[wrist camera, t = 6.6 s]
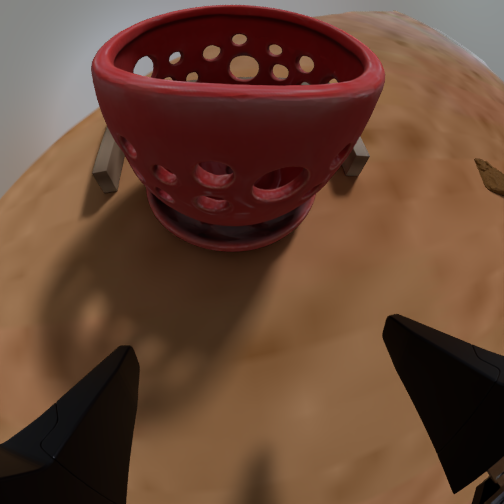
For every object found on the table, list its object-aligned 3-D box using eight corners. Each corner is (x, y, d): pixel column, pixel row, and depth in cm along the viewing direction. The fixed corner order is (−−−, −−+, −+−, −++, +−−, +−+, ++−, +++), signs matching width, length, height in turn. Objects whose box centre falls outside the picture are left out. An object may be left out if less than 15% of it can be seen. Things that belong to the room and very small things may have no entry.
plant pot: (330, 272, 17) (444, 139, 6) (128, 260, 16) (25, 123, 5) (313, 132, 22) (348, 14, 11) (167, 125, 22) (147, 5, 11)
